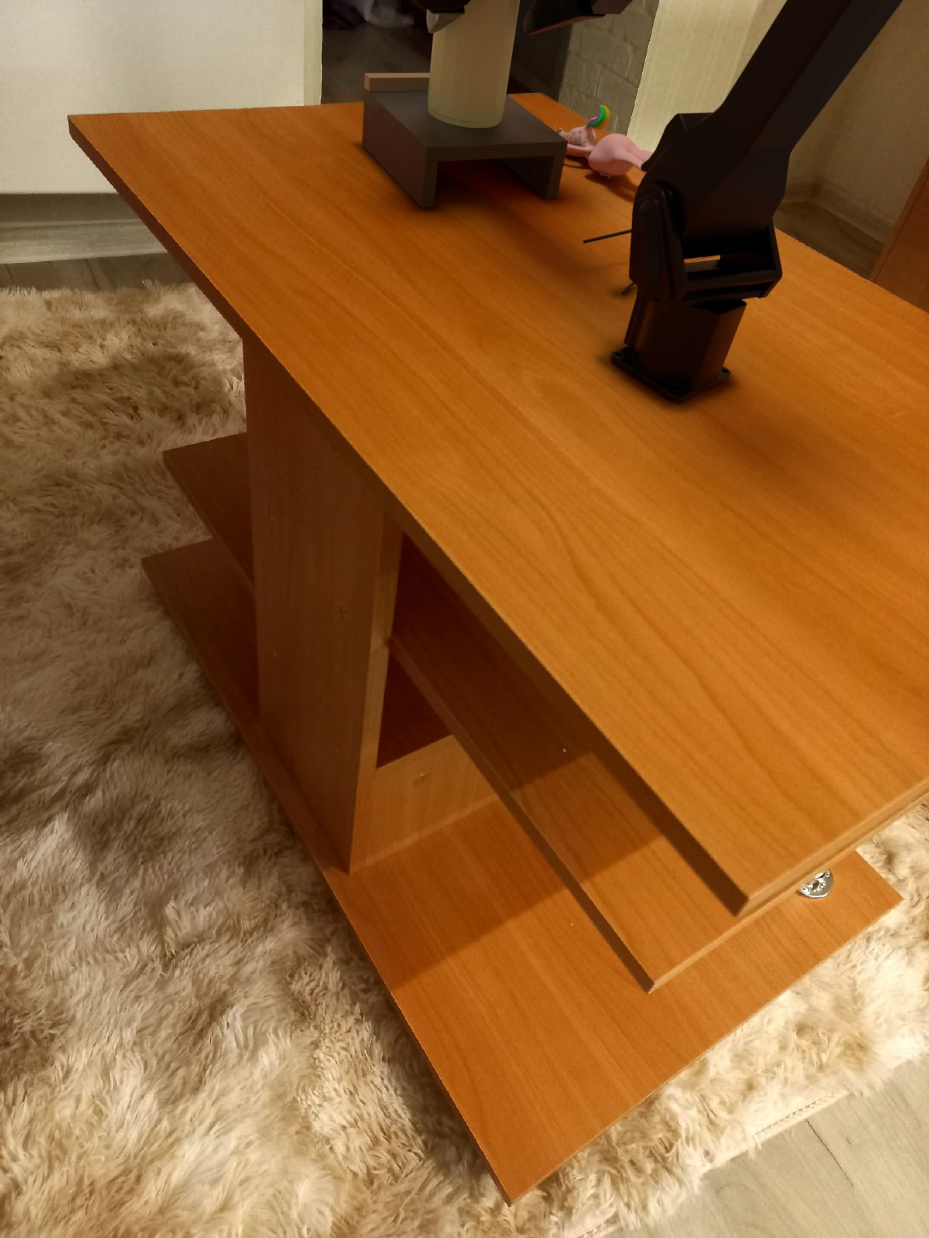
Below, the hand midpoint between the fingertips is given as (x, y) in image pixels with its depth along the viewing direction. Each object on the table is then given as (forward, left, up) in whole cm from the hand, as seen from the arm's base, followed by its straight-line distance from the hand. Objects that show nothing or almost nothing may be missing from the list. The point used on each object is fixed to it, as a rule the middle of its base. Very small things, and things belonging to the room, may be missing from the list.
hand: (478, 28), depth 74 cm
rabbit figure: (-5, -14, -12) cm, 19 cm away
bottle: (+1, 0, -7) cm, 7 cm away
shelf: (+1, 0, -12) cm, 12 cm away
